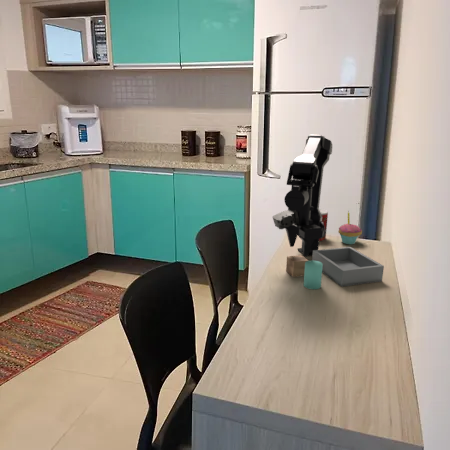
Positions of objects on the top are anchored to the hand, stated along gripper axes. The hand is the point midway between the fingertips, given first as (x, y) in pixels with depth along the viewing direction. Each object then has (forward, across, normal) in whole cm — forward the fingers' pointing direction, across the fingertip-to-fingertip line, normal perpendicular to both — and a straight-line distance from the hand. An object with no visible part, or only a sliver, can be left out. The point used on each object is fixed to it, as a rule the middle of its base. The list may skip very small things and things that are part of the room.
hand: (298, 251), depth 138 cm
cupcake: (+8, -22, +33) cm, 40 cm away
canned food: (+8, -30, +23) cm, 38 cm away
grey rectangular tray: (+7, +4, +15) cm, 17 cm away
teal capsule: (+7, +10, 0) cm, 12 cm away
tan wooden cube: (+7, 0, 0) cm, 7 cm away
